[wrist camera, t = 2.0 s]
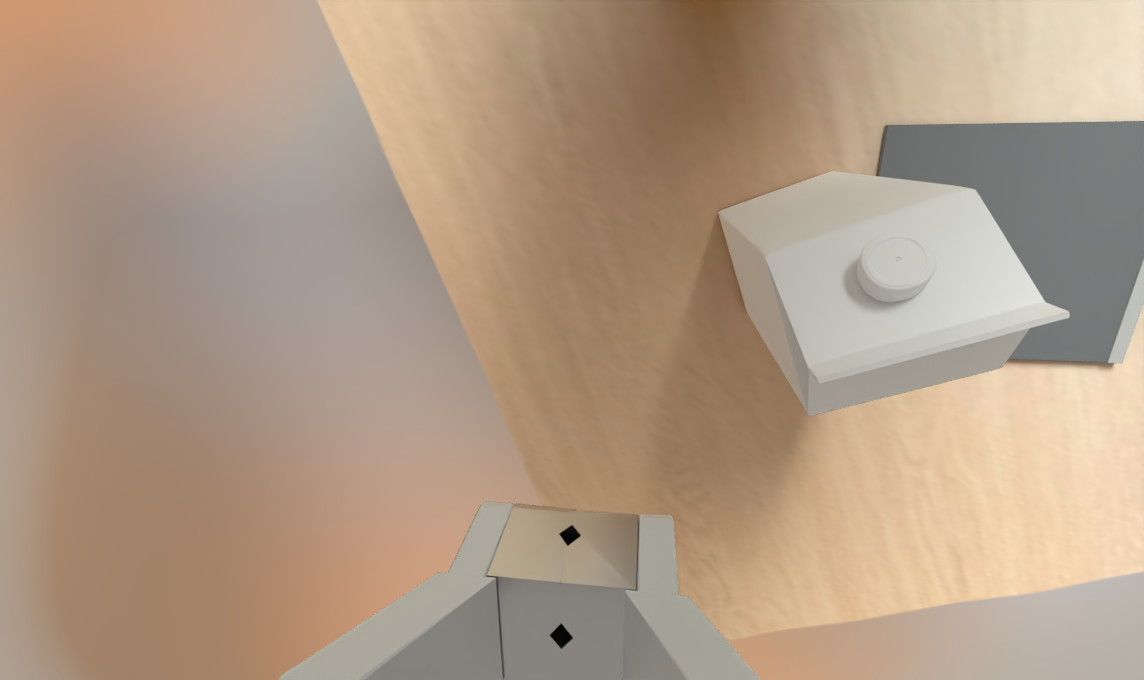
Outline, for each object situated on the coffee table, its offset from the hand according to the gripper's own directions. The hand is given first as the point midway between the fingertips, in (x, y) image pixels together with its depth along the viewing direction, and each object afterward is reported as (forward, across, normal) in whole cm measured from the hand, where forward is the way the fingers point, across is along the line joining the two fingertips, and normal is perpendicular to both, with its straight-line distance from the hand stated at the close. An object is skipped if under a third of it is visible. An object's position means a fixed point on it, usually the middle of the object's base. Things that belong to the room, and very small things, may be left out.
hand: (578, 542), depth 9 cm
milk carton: (+29, -10, 0) cm, 31 cm away
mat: (+29, -22, 0) cm, 37 cm away
